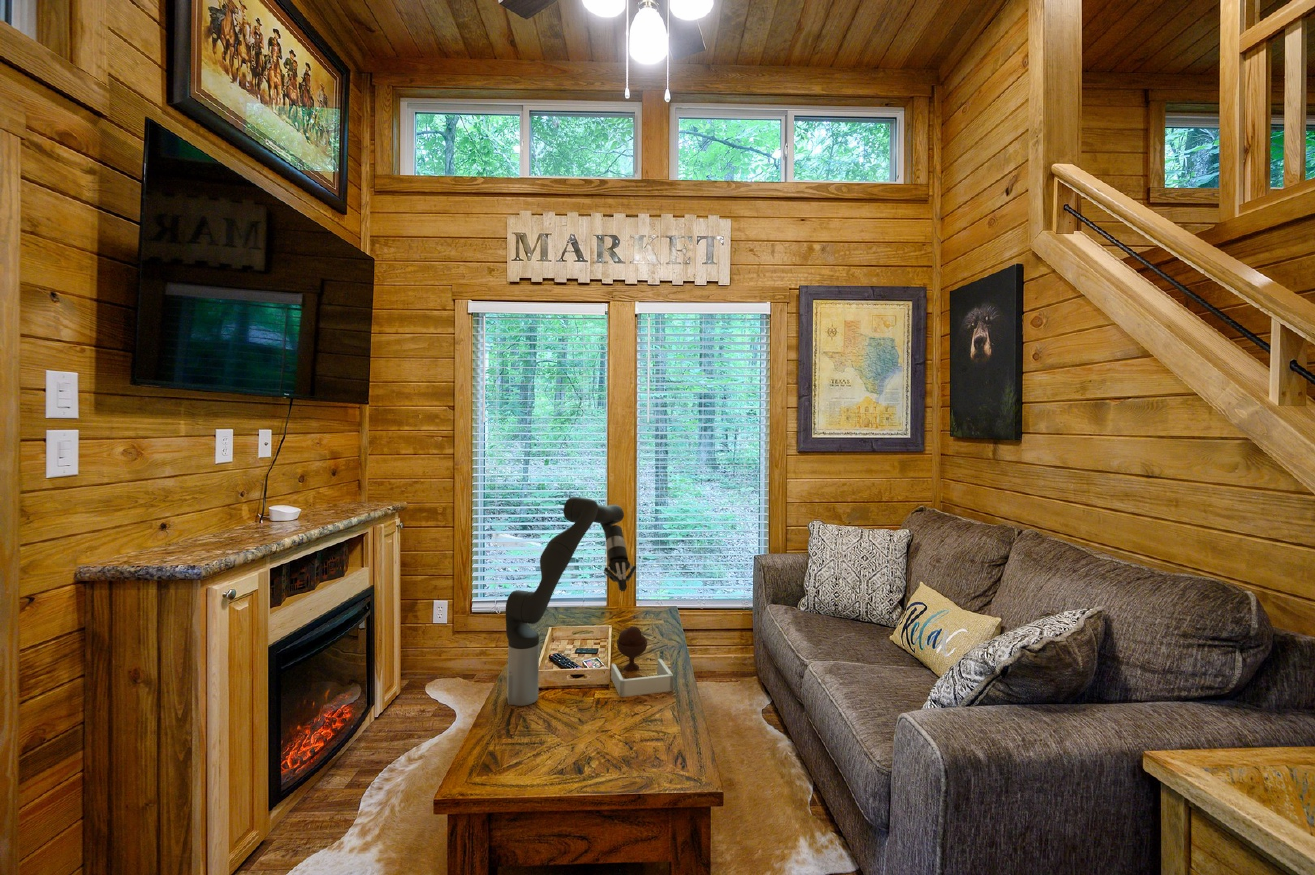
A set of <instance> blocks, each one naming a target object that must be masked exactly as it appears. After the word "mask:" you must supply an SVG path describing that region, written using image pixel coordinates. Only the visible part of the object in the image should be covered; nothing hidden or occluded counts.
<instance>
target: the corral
mask: <svg viewBox="0 0 1315 875" xmlns="http://www.w3.org/2000/svg"><path fill="white" fill-rule="evenodd" d="M610 668H611V670H610V671H611V672H610V680H611V681H612V683H613V685H614V687H615V689H616V692H617V693H618V695H619V697H620V698H625V697H634V696H641V695H643V696H644V695H651V694H659V693H667V692H674V687H675V686H674V680H675V677H674V674H673V673H672V671H671V670H670V668H669V667H668V666H667V664H666V663H665V662H664V661H663V659H662V658H658V659H657V672H656V673H657V675H651V676H650V675H649V676H642V677H633V678H632V677H631V678H624V677H623V676H622V674H621V672H620V670H619V669H618V666H617V665H616V663H611V666H610Z"/></svg>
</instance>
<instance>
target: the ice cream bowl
mask: <svg viewBox="0 0 1315 875" xmlns="http://www.w3.org/2000/svg"><path fill="white" fill-rule="evenodd" d="M647 646H648V639H646V636H644V635H643V634H642V631H641V629H640V628H639V627H638V626H634V625H633V626H630V627H628V628H625V629H623V630H622V631H621V632H620V633H619V635H618V639H616V647H617V650H618V651H619V653H621V654H622V655H623V656H625V657H627V658H628V659H629V660H628V661H629V663H627V664H625V665H624V667H623V670H624V671H627V672H630V673H631V672H637V671H639V670H640V665H639V664H636V663H635V658H637V657H639V656H640V655H642V654H643V653H644V652H645V651H646V649H647Z"/></svg>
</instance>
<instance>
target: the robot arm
mask: <svg viewBox="0 0 1315 875" xmlns="http://www.w3.org/2000/svg"><path fill="white" fill-rule="evenodd" d="M563 516H564V519H565V520H566V521H568V522H571V523H573V524H572V525H571V526H570V527H568V528H567V529H565V530H562V532H560V533H558V534H557V535H555V536H554V537H552V538H551V539H550V540H549V542H548V543H547V544H546V546H545V548H544V550H543V551H542V553H541V555H540V557H539V558H540V559H539V566H540V567H539V569H540V575H541V578H540V582H539V584H538V586H537V588H536V590H534V591H529V590H528V591H527V590H522V589H519V590H518V589H517V590H516V589H515V590H513V591H512V592H511V593H509V595H508V597H507V600H506V603H505V631H506V632H505V633H506V634H505V635H506V638H507V640H508V641H507V642H508V643H507V644H508V645H507V647H508V650H507V652H508V653H507V654H508V655H507V675H506V678H507V680H506V681H507V682H506V683H507V684H506V685H507V686H506V689H507V690H506V692H507V693H506V695H507V696H506V697H507V698H506V699H507V705H508V706H516V707H517V706H519V707H522V706H523V707H524V706H529V705H532V704H534V703H536V702H537V701H538V700H539V683H540V682H539V681H540V680H539V678H540V677H539V676H540V675H539V674H540V673H539V668H540V666H539V665H540V664H539V661H540V634H539V633H538V631H536V630H535V629H533V628H532V627H531V626H530V625H529V624H531V625H533V624H537V623H539V621H540V620H541V619H542V618H543V616H544V614H545V613H546V611H547V609H548V606H549V603H550V600H551V598H552V597H553V594H554V592H555V590H556V587H557V585H558V583H559V582H560V579H561V577H562V575H563V574H564V572H565V571H566V568H567V567H568V565H569V563H570V561H571V560H572V558H573V555H574V554H575V552H576V550H577V548H578V546H579V544H580V543H581V541H582V539H583V538H584V536H585V534H587V532H588V530H590V527H591V526H592V525H593V524H594V523H596V524H600V526H601V528H602V530H603V532H604V536H605V544H606V553H607V558H608V559H607V560H608V565H607V567H604V570H603V574H604V575H605V576H606V577H608V578H609V579H610V580H611V581H612V582H613V583H615V582H616V583H617V586H618V590H619V591H620V592H626V590H627V588H628V584H627V582H629V581H630V580H631V578H632V576H633V575H634V574H635V572H636V569H637V566H636V565H632V564H631V562H630V561H629V557H628V552H627V551H628V550H627V547H626V541H625V539H624V534H623V529H622V527H621V526H620V525H618V524H619V523H620V522H621V521H623V520H624V516H625V513H624V509H623V508H622V507H621V505H620V506H619V505H618V504H610V505H604V504H603V505H601V504H598V502H597V500H594V499H592V498H587V497H581V496H570V497H569V498H568V499H566V501H565V502H564V506H563ZM628 570H629V572H628ZM627 572H628V574H627ZM626 574H627V575H626Z"/></svg>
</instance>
